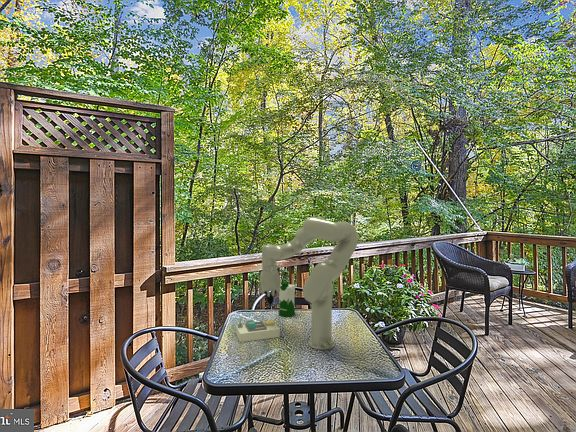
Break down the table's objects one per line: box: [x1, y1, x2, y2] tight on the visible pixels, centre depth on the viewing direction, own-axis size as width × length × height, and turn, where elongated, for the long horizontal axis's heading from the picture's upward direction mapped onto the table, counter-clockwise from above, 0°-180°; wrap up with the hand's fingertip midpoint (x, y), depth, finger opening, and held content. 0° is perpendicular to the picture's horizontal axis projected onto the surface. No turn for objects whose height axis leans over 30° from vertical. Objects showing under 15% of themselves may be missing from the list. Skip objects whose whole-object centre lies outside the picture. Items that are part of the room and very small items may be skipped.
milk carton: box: [278, 281, 296, 318], centre depth 197 cm, size 9×9×20 cm
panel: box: [235, 316, 281, 343], centre depth 165 cm, size 12×20×10 cm, turn 108°
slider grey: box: [245, 318, 254, 326], centre depth 167 cm, size 3×3×4 cm
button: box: [264, 320, 276, 326], centre depth 170 cm, size 4×4×5 cm
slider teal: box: [248, 321, 255, 329], centre depth 162 cm, size 3×3×4 cm
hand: (270, 303), depth 169 cm, fingers closed
